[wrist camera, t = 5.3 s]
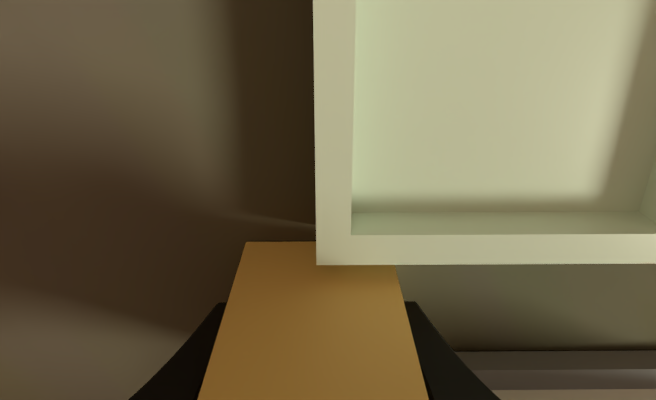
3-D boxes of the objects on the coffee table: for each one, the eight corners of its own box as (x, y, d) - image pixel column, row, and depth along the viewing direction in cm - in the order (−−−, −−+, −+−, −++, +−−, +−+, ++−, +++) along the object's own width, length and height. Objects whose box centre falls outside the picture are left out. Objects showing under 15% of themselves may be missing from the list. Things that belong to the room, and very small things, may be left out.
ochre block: (381, 351, 15) (415, 564, 9) (255, 352, 15) (214, 566, 9) (388, 240, 13) (433, 420, 8) (246, 241, 13) (189, 423, 8)
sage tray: (642, 224, 13) (694, 263, 11) (317, 226, 13) (316, 264, 11) (767, -180, 9) (875, -221, 7) (312, -181, 9) (310, -222, 7)
